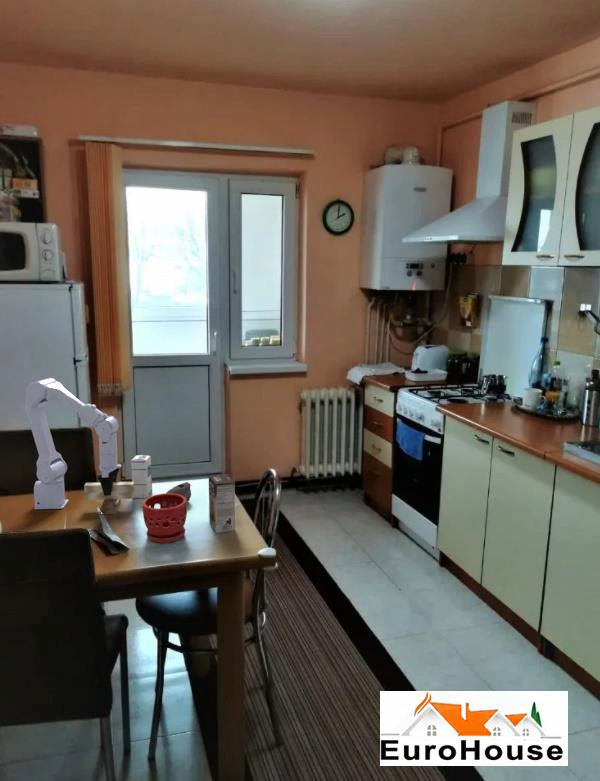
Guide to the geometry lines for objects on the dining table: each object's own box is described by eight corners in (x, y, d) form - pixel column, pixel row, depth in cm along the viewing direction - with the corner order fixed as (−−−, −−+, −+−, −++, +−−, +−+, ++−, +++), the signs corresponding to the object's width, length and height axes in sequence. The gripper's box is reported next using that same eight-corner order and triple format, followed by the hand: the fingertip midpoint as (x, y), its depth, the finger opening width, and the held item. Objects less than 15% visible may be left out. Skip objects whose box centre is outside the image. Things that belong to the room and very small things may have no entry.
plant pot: (142, 531, 192) (141, 494, 190) (185, 527, 195) (184, 491, 193) (144, 548, 179) (143, 509, 177) (189, 543, 183) (188, 505, 181)
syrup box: (148, 498, 221) (147, 459, 219) (132, 497, 221) (130, 459, 219) (152, 492, 227) (151, 455, 224) (136, 492, 227) (135, 454, 224)
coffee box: (208, 523, 199) (207, 475, 196) (227, 520, 201) (227, 473, 199) (215, 533, 191) (214, 483, 188) (235, 530, 193) (235, 481, 190)
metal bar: (84, 499, 207) (84, 485, 206) (86, 496, 210) (86, 482, 209) (133, 498, 209) (132, 484, 208) (134, 495, 212) (134, 481, 211)
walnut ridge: (100, 514, 205) (99, 502, 204) (105, 503, 215) (105, 492, 214) (115, 513, 206) (115, 502, 205) (120, 503, 215) (120, 492, 215)
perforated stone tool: (166, 514, 206) (166, 494, 205) (155, 511, 209) (154, 491, 208) (195, 501, 219) (195, 482, 218) (184, 498, 221) (184, 480, 220)
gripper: (116, 458, 200) (118, 498, 203) (124, 447, 214) (125, 484, 217) (94, 459, 199) (96, 498, 202) (103, 447, 214) (104, 484, 216)
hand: (109, 491), depth 209 cm, fingers open, 7 cm apart
